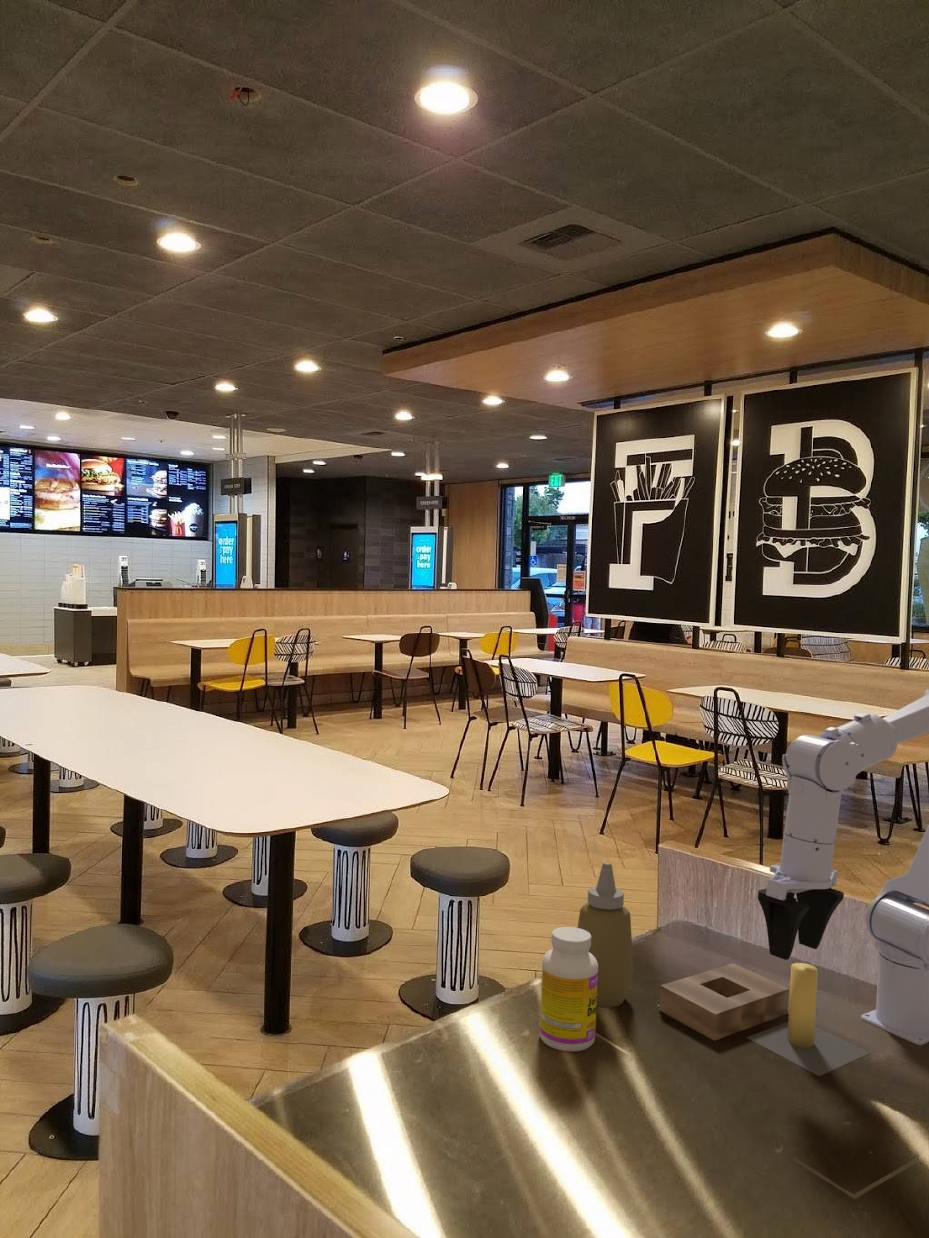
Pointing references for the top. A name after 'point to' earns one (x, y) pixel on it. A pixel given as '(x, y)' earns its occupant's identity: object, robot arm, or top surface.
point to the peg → (802, 1005)
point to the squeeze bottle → (609, 938)
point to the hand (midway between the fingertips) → (794, 951)
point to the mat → (810, 1049)
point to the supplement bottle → (569, 991)
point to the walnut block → (723, 1000)
